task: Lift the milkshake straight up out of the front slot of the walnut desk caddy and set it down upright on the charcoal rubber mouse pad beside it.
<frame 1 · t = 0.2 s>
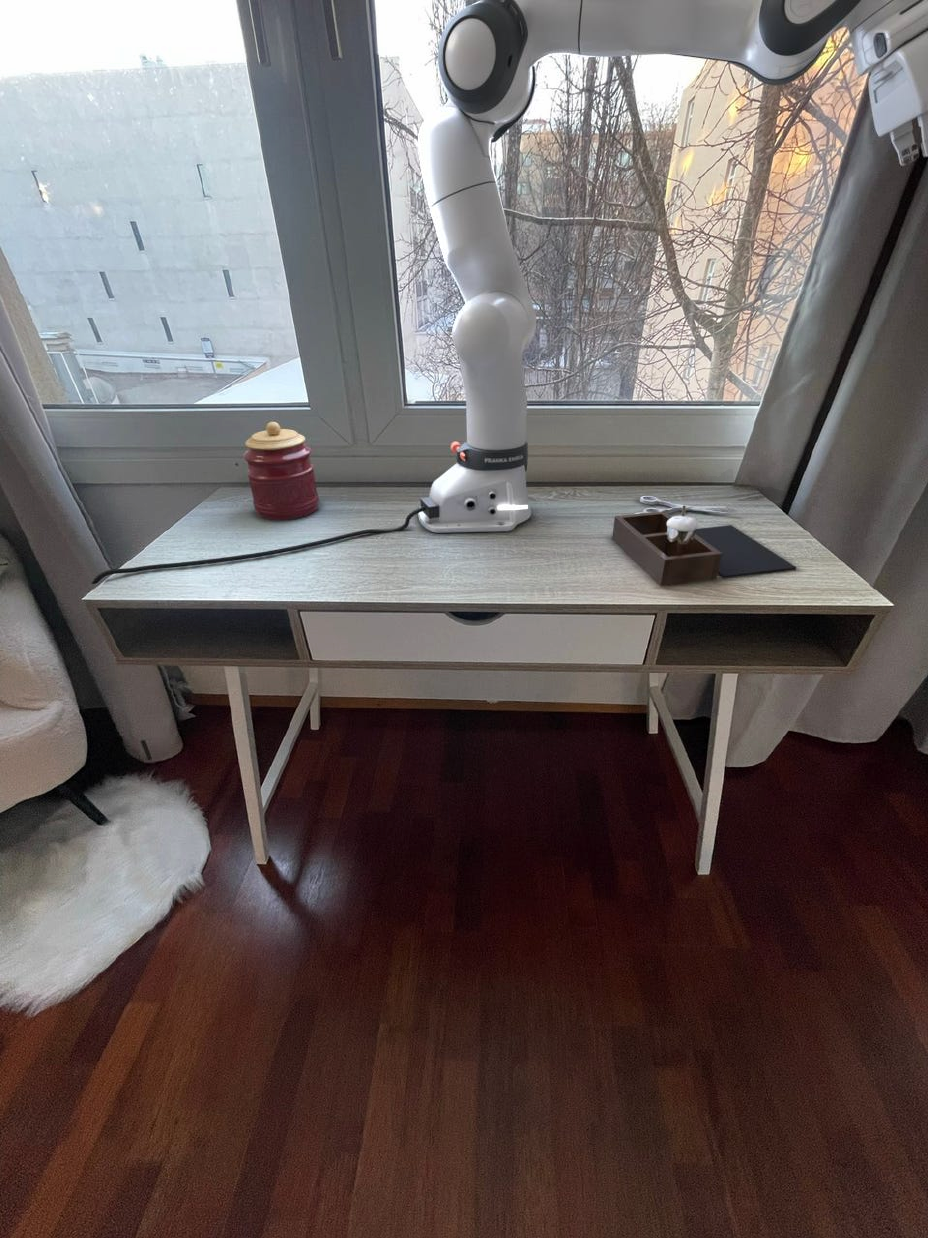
hand: (921, 158, 76), 54 cm above the table, tool tilted 30°, fingers open, 8 cm apart
kitchen canister: (288, 510, 122), on the table
scissors: (684, 511, 118), on the table
caddy: (660, 558, 100), on the table
mouse pad: (727, 550, 102), on the table
milkshake: (673, 570, 96), resting in caddy
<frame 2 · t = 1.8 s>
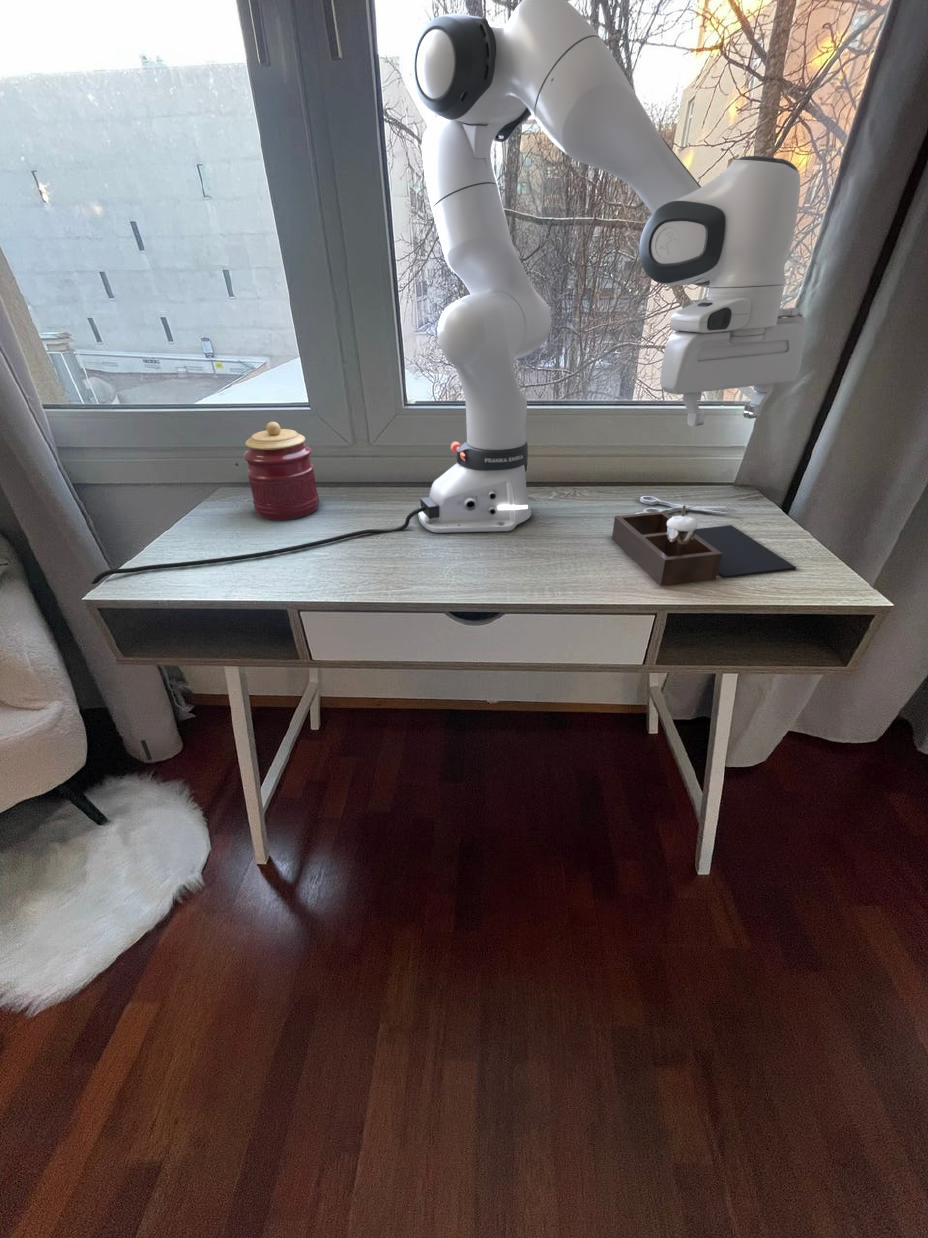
hand: (723, 421, 84), 24 cm above the table, tool pointing down, fingers open, 8 cm apart
nothing on the table moved.
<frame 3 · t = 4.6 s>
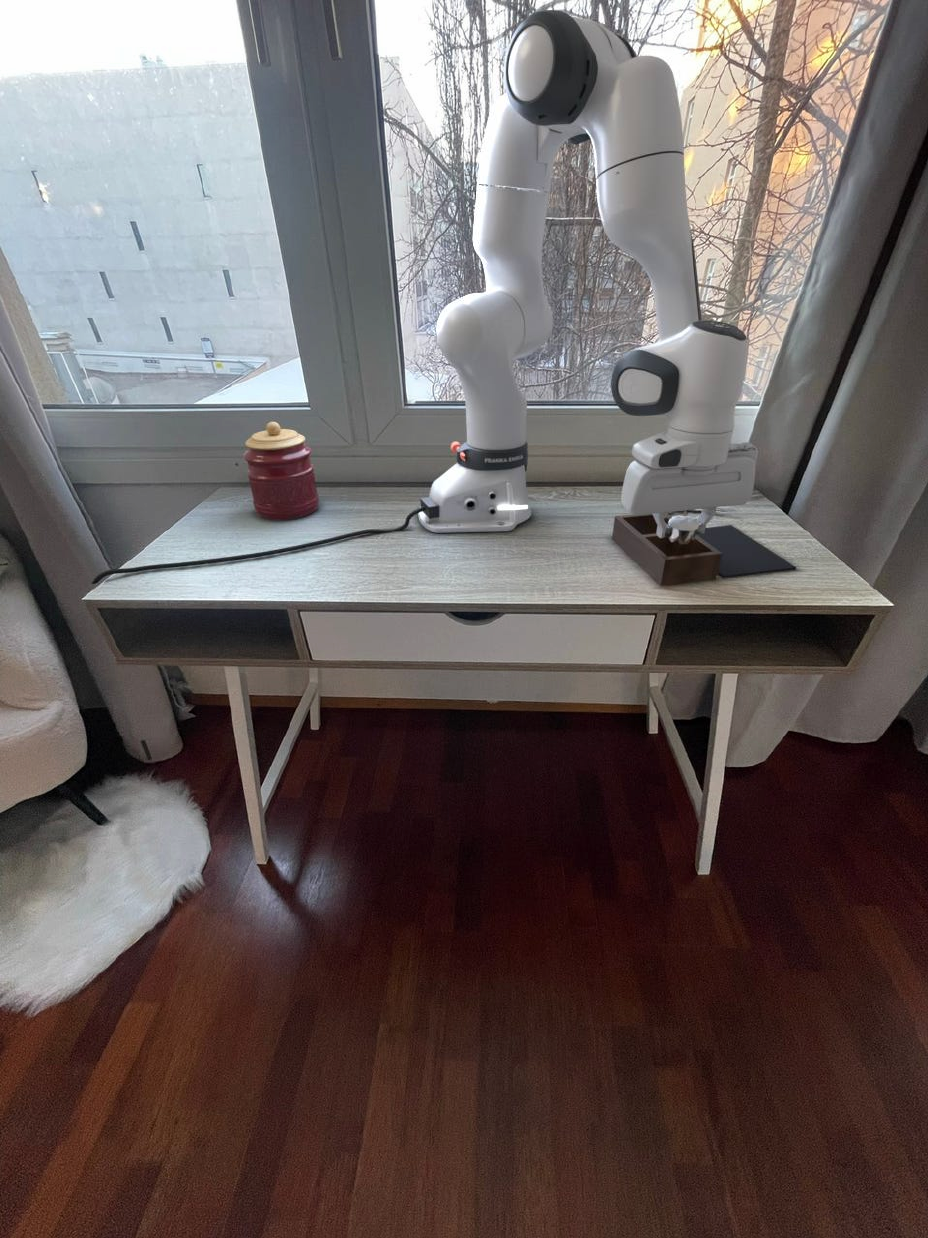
hand: (679, 534, 93), 6 cm above the table, tool pointing down, fingers closed on milkshake, 4 cm apart
milkshake: (673, 570, 96), resting in caddy, touching gripper
everything else where it was.
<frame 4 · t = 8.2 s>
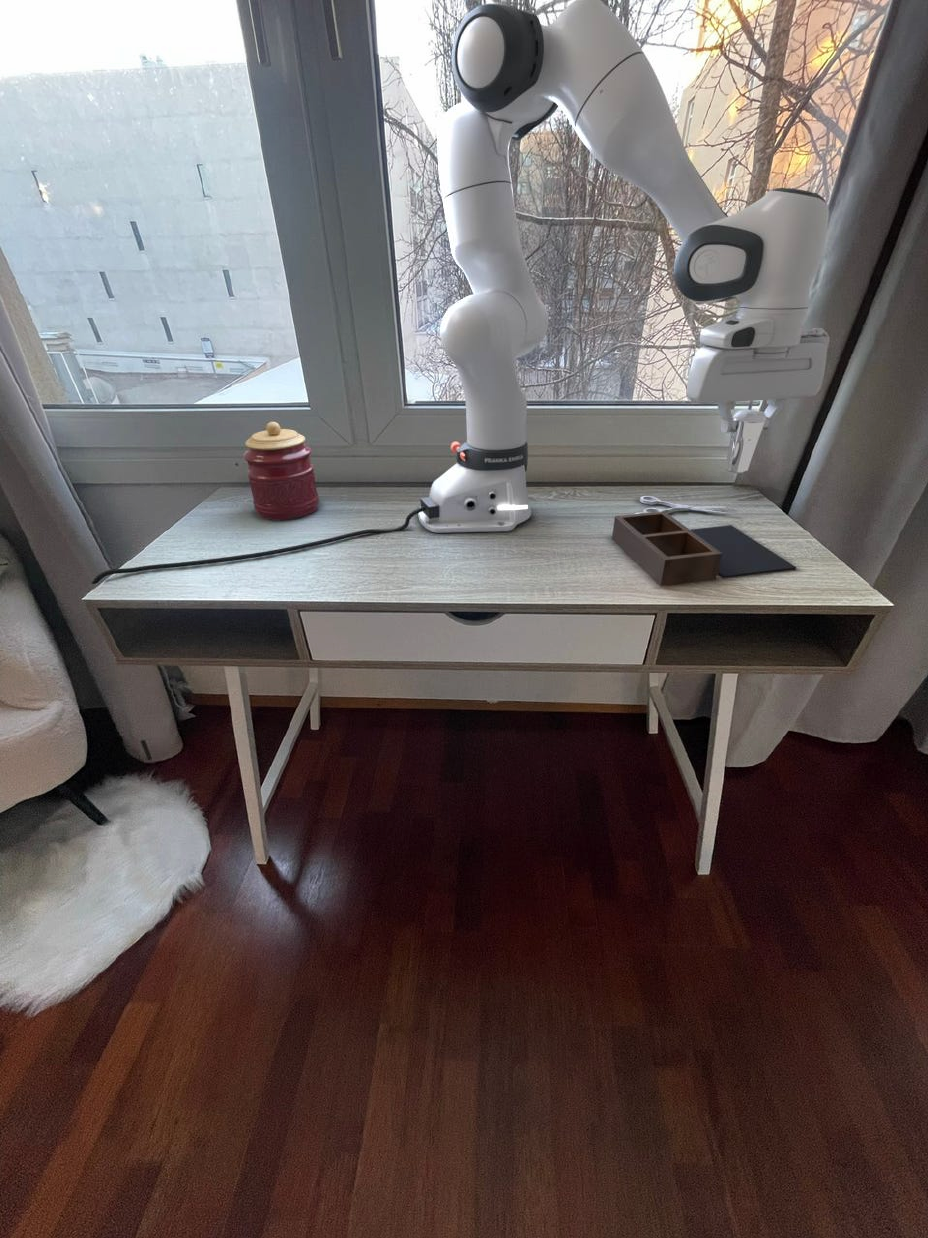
hand: (744, 430, 90), 21 cm above the table, tool pointing down, fingers closed on milkshake, 4 cm apart
milkshake: (735, 470, 93), point 14 cm above the table, touching gripper
everything else where it was.
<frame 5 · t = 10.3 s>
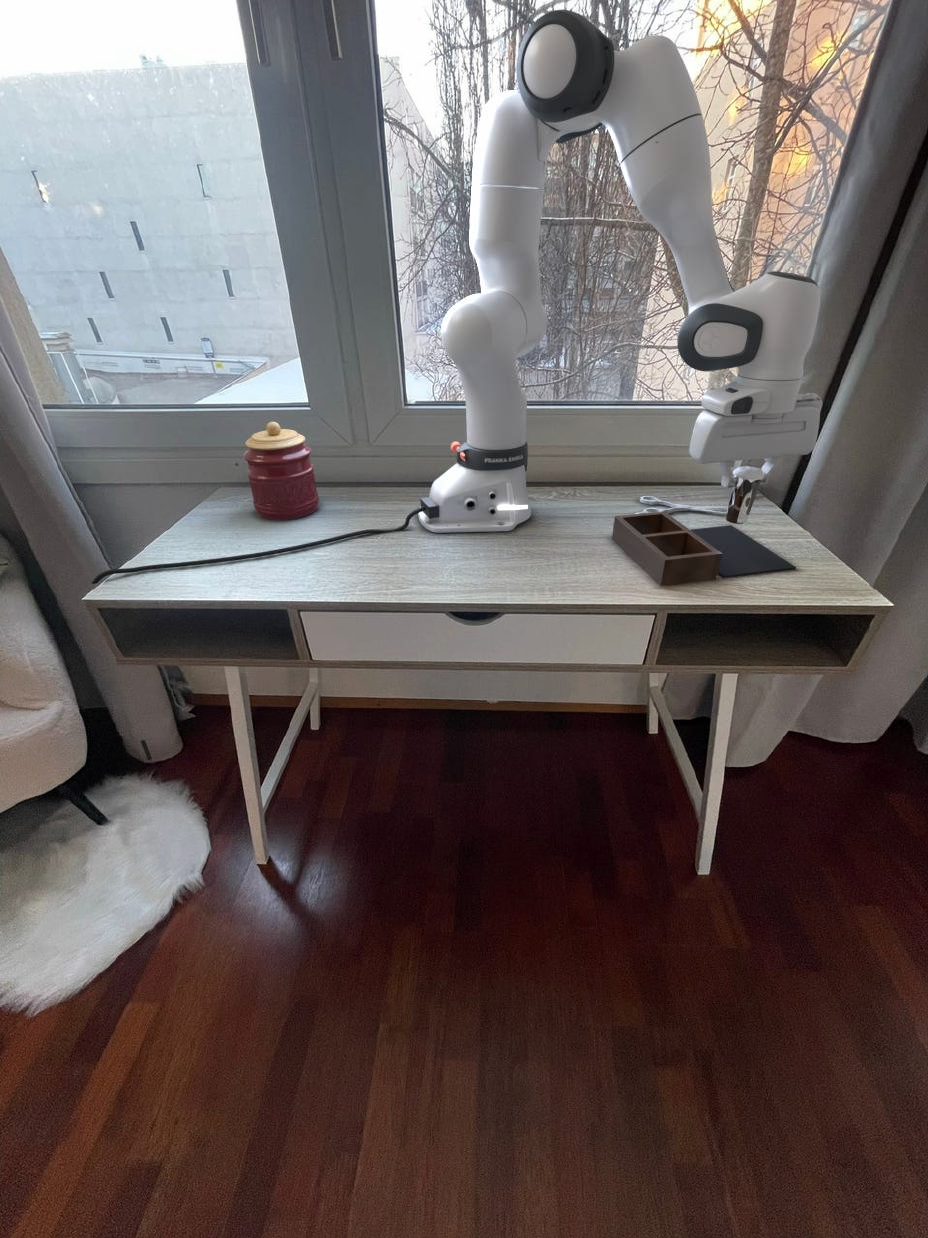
hand: (743, 484, 96), 11 cm above the table, tool pointing down, fingers closed on milkshake, 4 cm apart
milkshake: (735, 520, 100), point 5 cm above the table, touching gripper
everything else where it was.
when the fingers open (6 cm above the table, at t = 12.0 s): milkshake moves 3 cm, resting on mouse pad.
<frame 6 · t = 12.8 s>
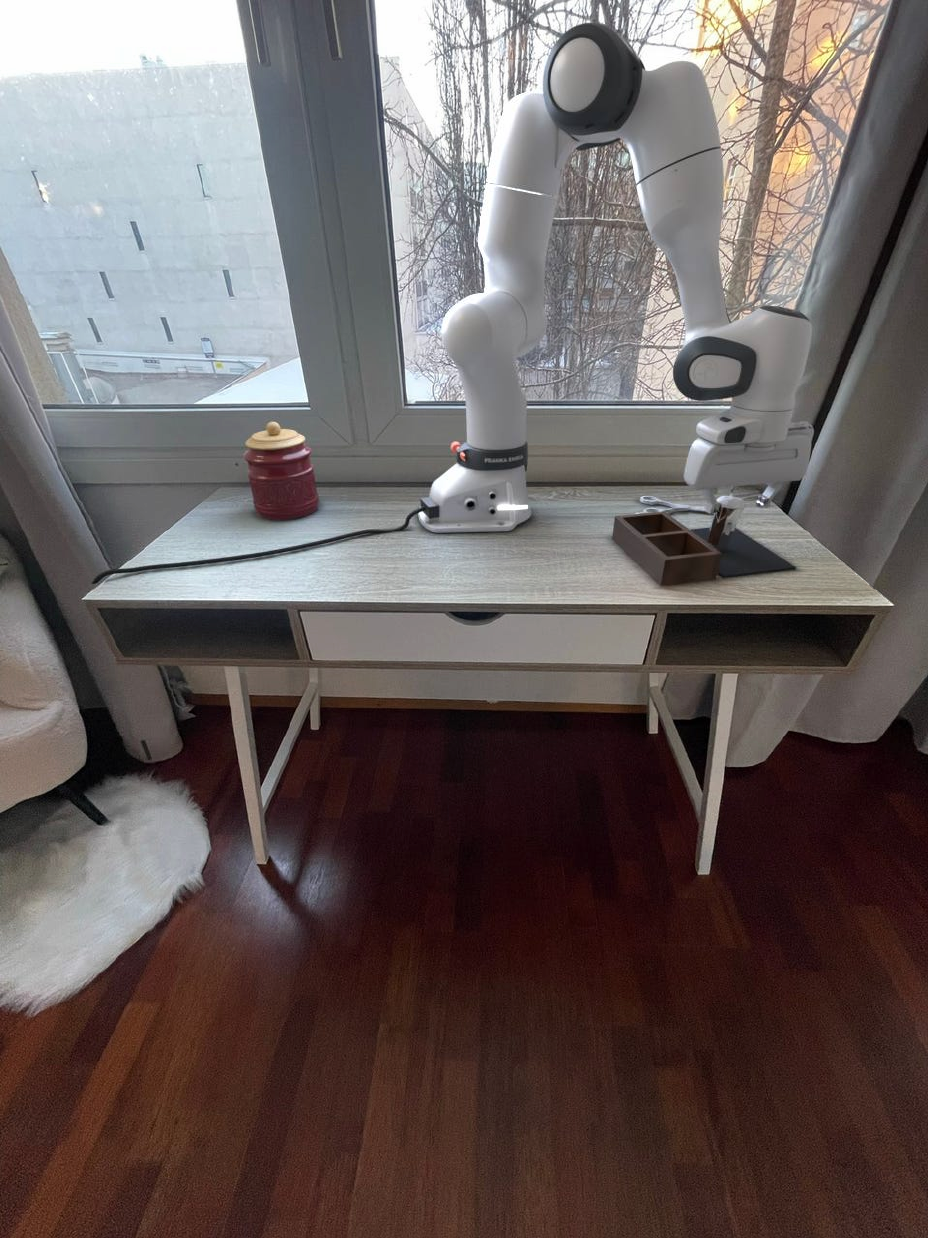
hand: (737, 509, 99), 7 cm above the table, tool pointing down, fingers open, 8 cm apart
milkshake: (715, 548, 102), resting on mouse pad
everything else where it was.
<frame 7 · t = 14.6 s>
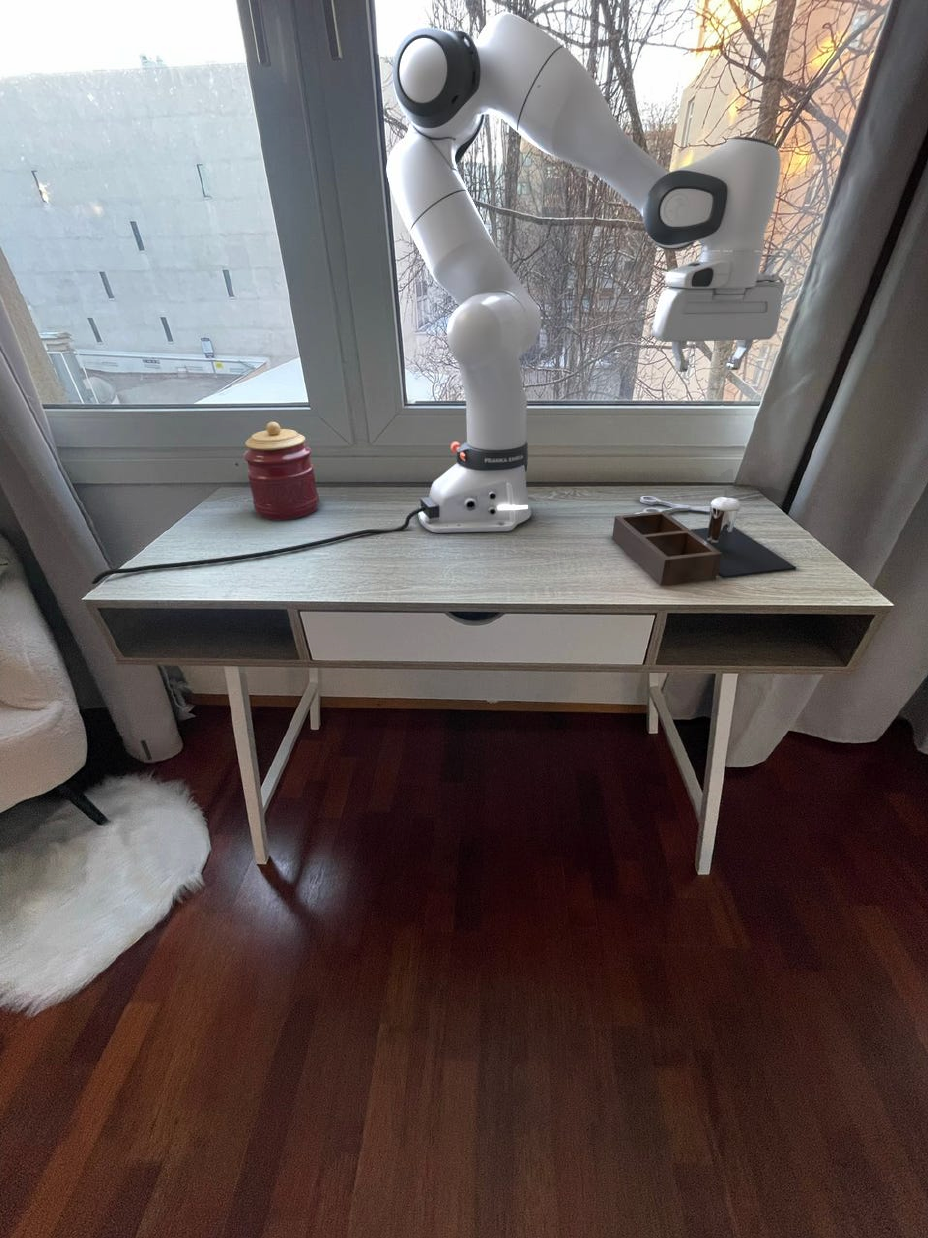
hand: (706, 370, 98), 27 cm above the table, tool pointing down, fingers open, 8 cm apart
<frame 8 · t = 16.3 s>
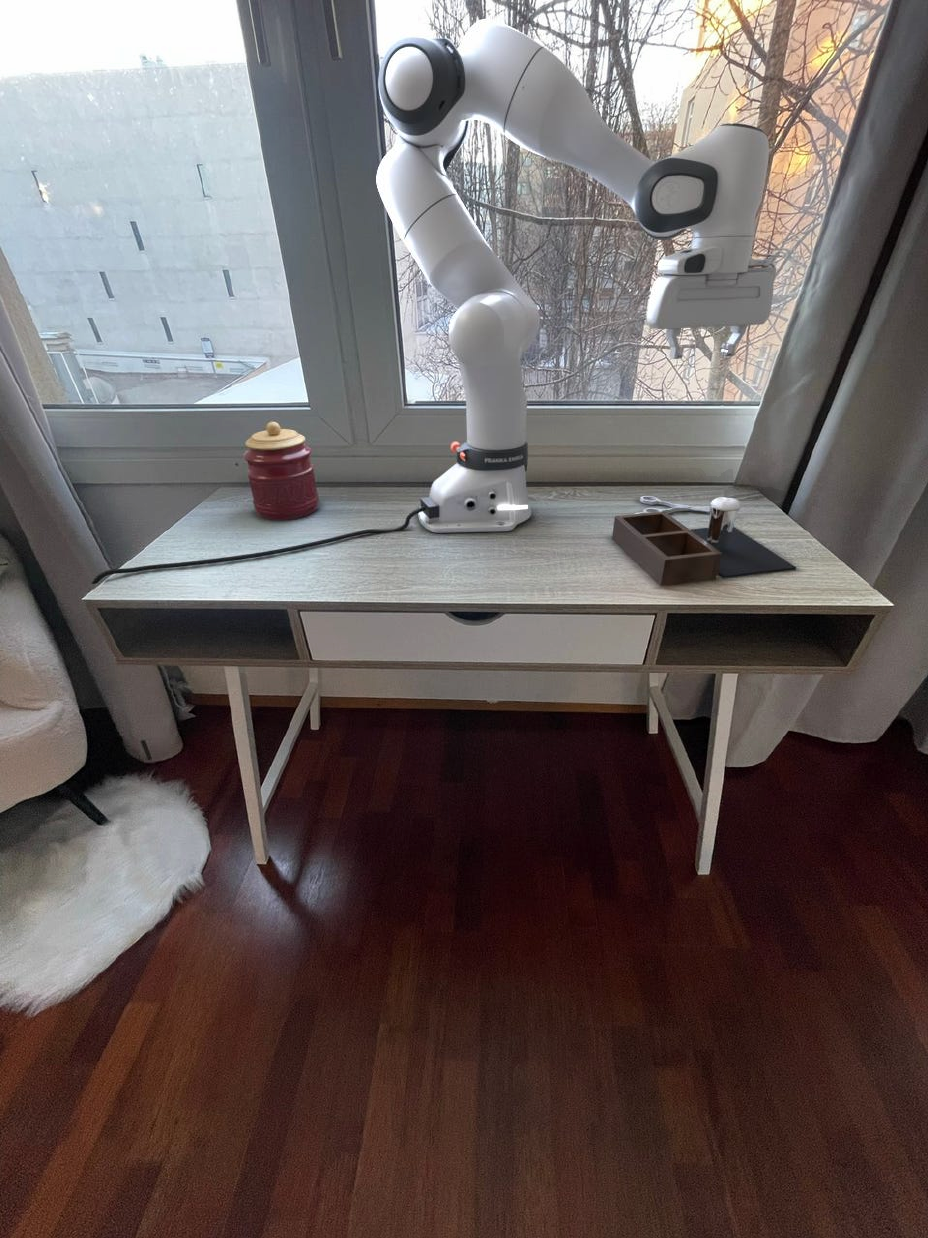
hand: (701, 356, 98), 29 cm above the table, tool pointing down, fingers open, 8 cm apart
nothing on the table moved.
at the end: milkshake inside the target area (2.6 cm from its centre), resting on mouse pad; milkshake tilted 0°; the gripper is holding nothing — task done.
